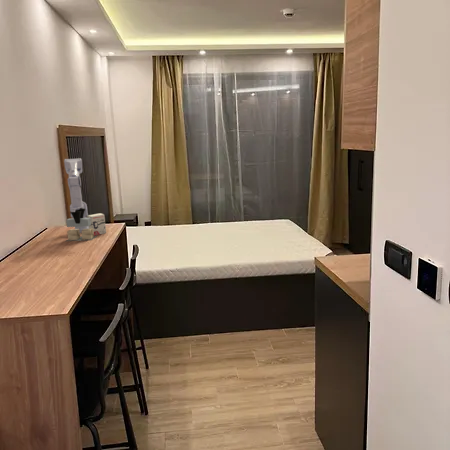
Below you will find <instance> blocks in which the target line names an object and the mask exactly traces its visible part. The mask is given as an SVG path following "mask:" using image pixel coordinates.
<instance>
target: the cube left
mask: <svg viewBox="0 0 450 450" xmlns="http://www.w3.org/2000/svg"><path fill="white" fill-rule="evenodd" d="M66 233H67V240H78V239H79V238H80V236H81V233H80V231H79V229H75V228H72V229H71V228H70V229H69V230H67V231H66Z"/></svg>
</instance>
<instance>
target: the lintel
mask: <svg viewBox="0 0 450 450" xmlns="http://www.w3.org/2000/svg"><path fill="white" fill-rule="evenodd" d="M65 221H66V227H67V228H75V227H82V226H90V225H91V222H90V218H88V217H87V218H80V223H79V224H76V223H75V220H74V218H72V217H71V218H67V219H66V220H65Z"/></svg>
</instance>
